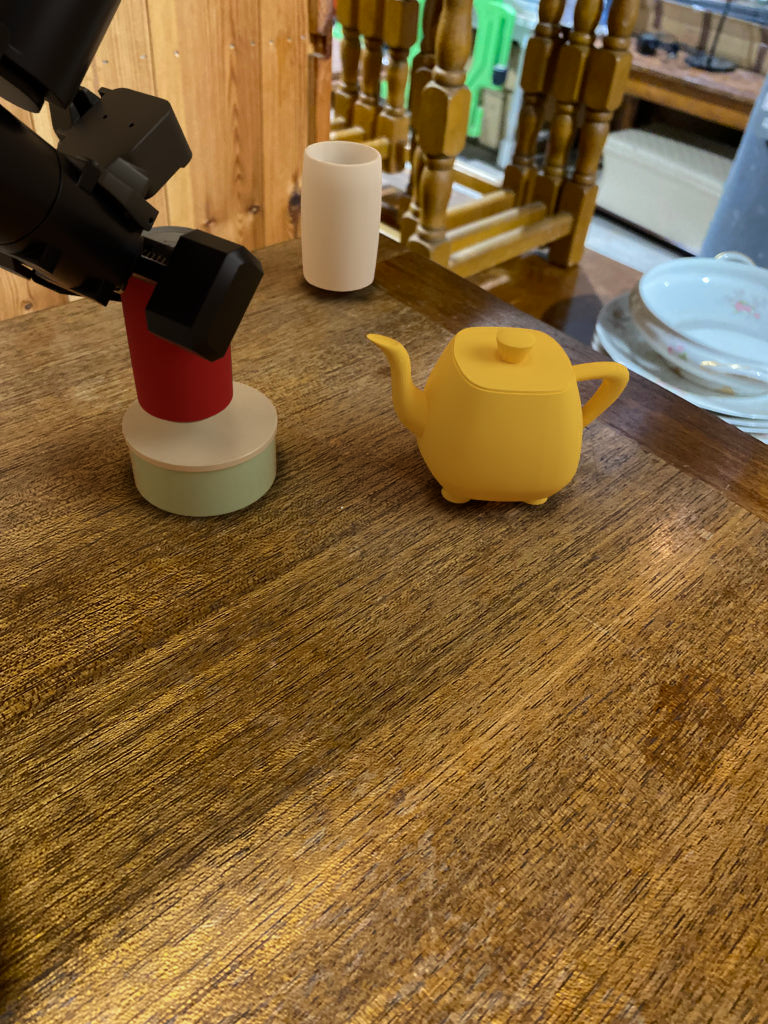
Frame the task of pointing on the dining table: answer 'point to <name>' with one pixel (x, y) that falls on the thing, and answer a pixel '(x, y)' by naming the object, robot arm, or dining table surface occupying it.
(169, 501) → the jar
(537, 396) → the teapot
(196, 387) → the beverage can
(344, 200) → the cup
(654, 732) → the dining table surface
